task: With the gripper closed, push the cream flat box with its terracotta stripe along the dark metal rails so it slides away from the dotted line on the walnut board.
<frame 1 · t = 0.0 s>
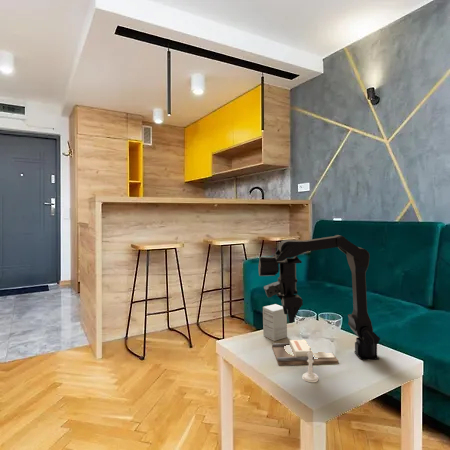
hand: (288, 318, 119), 15 cm above the table, tool pointing down, fingers open, 9 cm apart
cream flat box: (300, 348, 122), point 3 cm above the table, slide at 0.0 cm
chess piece: (310, 378, 106), on the table
grey drawer cabinet: (275, 337, 140), on the table
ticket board: (304, 355, 122), on the table
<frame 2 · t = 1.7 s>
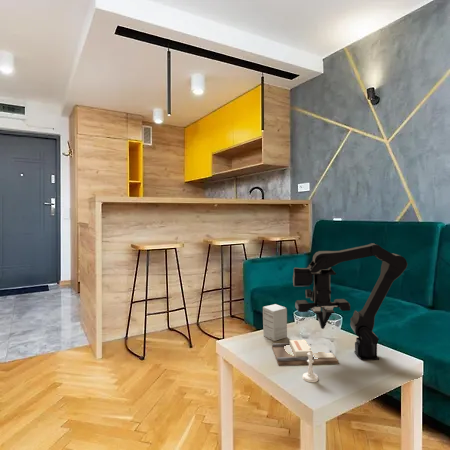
hand: (322, 328, 121), 10 cm above the table, tool pointing down, fingers closed
nothing on the table moved.
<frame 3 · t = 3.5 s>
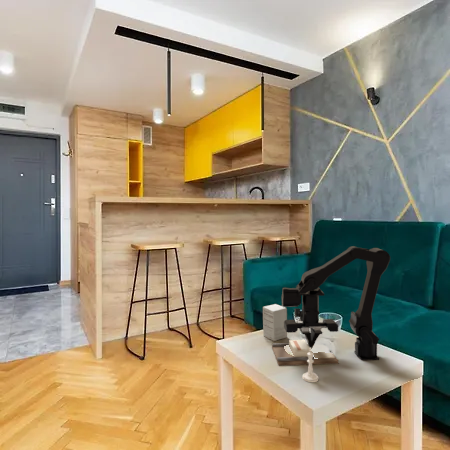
hand: (310, 348, 122), 2 cm above the table, tool pointing down, fingers closed
cream flat box: (299, 348, 122), point 3 cm above the table, slide at 0.3 cm, touching gripper
everything else where it was.
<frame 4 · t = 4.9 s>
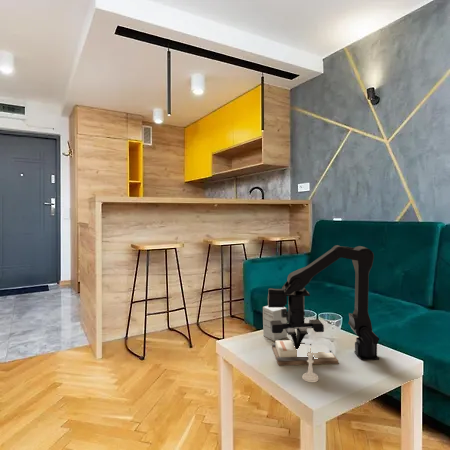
hand: (296, 348, 122), 2 cm above the table, tool pointing down, fingers closed
cream flat box: (285, 348, 122), point 3 cm above the table, slide at 5.4 cm, touching gripper
everything else where it was.
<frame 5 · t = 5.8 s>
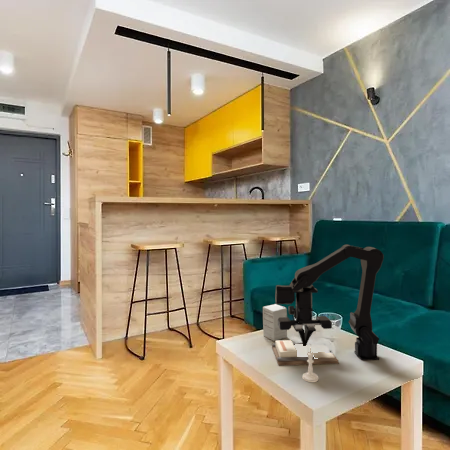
hand: (304, 345, 122), 4 cm above the table, tool pointing down, fingers closed
cream flat box: (285, 348, 122), point 3 cm above the table, slide at 5.4 cm
everything else where it was.
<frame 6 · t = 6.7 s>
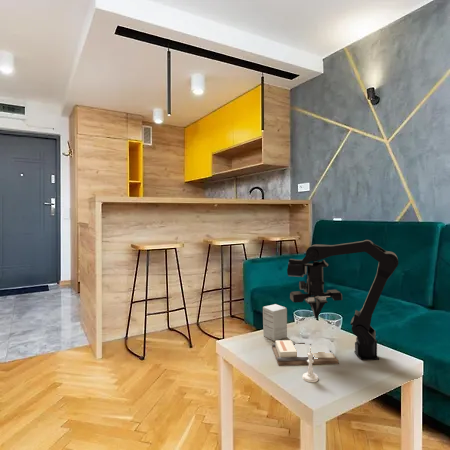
hand: (316, 318, 127), 12 cm above the table, tool pointing down, fingers closed
nothing on the table moved.
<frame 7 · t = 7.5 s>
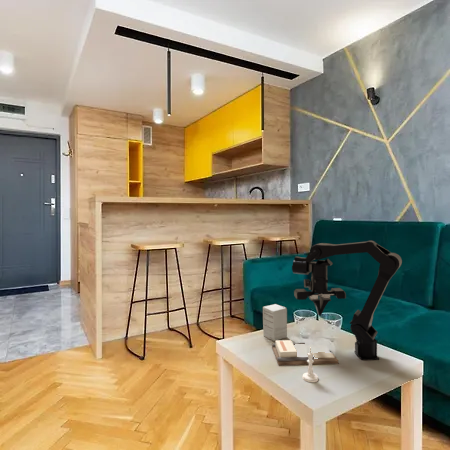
hand: (319, 315, 129), 12 cm above the table, tool pointing down, fingers closed
nothing on the table moved.
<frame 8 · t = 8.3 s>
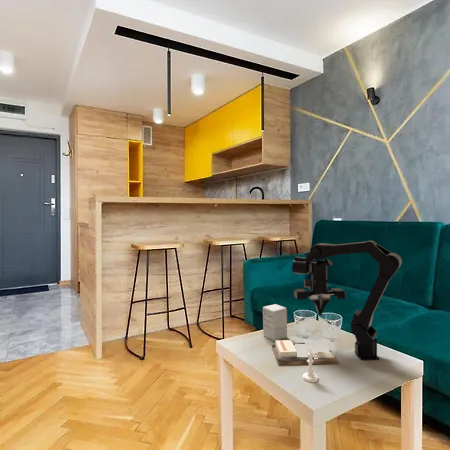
hand: (319, 315, 129), 12 cm above the table, tool pointing down, fingers closed
nothing on the table moved.
at the end: cream flat box slide at 5.4 cm; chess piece moved 0.2 cm from its start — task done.
